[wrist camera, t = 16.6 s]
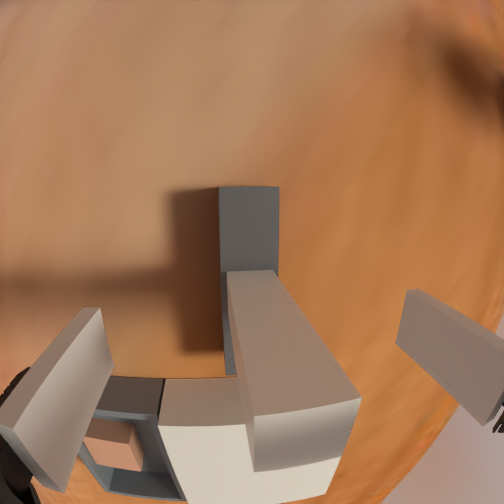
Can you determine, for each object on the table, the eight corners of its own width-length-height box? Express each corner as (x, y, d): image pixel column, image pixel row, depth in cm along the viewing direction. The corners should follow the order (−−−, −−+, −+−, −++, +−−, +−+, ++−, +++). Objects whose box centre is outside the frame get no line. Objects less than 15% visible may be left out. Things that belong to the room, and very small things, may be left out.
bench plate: (165, 378, 19) (157, 425, 14) (333, 365, 21) (359, 404, 16) (190, 472, 22) (191, 509, 17) (311, 460, 24) (324, 494, 19)
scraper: (218, 187, 16) (233, 188, 4) (268, 186, 17) (407, 194, 4) (223, 349, 19) (245, 522, 6) (265, 346, 19) (324, 509, 7)
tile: (128, 444, 17) (133, 423, 19) (79, 435, 16) (87, 416, 18) (141, 471, 18) (144, 452, 20) (96, 463, 17) (101, 445, 19)
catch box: (65, 370, 18) (46, 399, 14) (163, 378, 19) (156, 414, 15) (112, 465, 21) (106, 491, 17) (189, 472, 22) (189, 501, 18)
